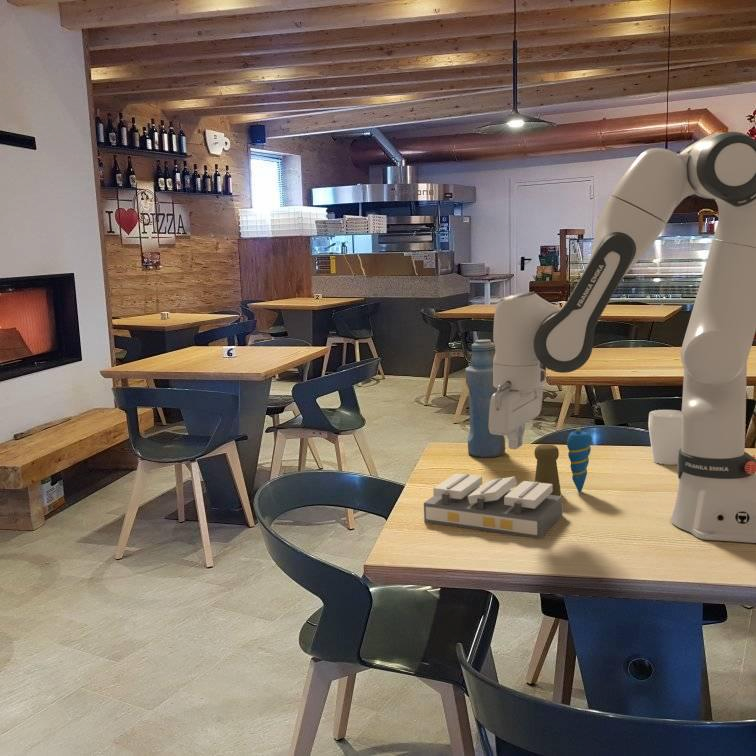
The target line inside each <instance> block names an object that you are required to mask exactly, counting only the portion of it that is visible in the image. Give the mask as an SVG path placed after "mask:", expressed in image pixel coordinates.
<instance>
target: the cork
mask: <svg viewBox="0 0 756 756" xmlns="http://www.w3.org/2000/svg"><path fill="white" fill-rule="evenodd" d="M533 452H534V453H533V455H534V458H535V459H536V467H535V474H534V482H539V483H548V484H552V493H551V494H550V495H556V496H562V491H561V485H560V476H559V471H558V464H557V460H558V458H559V455H560V451H559V449H558V446H556V445H554V444H549V443H545V444H544V443H543V444H538V445H537V446H536V447H535V449H534V451H533Z"/></svg>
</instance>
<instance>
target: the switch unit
mask: <svg viewBox="0 0 756 756" xmlns="http://www.w3.org/2000/svg"><path fill="white" fill-rule="evenodd" d="M479 487H481V485H480V486H478V487H477V488H476V489H474V490H473V491H472V492H474V491H475V490H477V489H478V488H479ZM512 490H513V489H510V490H509V491H508V492H506V493H505V494H504V495H503V496H502V497H500V498H499V499H498V500H493V501H486V502H484V498H479V497H478V498H477V503H473V504H470V503H469V500H468V495H470V494H471V493H472V492H470V493H469V494H468V495H466V496H465V497H463V498H462V499H455V498H449V494H447V493H442V497H440V496H434V495H433V496H431V497H430V498H428V499H427V500H426V501H424V502H423V517H424V518H423V519H424V523H430V524H437V525H442V526H443V525H444V526H448V527H449V526H450V527H457V528H463V529H470V530H477V531H485V532H490V533H498V534H499V533H500V534H503V535H511V536H517V537H526V538H532V539H538V540H541V538H542V537H543V536H544V535H546V533H547V532H548V531H549V530H550V529H551V528H552V527H553V526H554V525H555V523H557V521H559V519H561V518H562V516H563V495H561V496H556V495H549V496H547V497H546V498H545V499H544V500H543V501H542V502H541V503H540V504H539V505H538V506H537V507H536V508H535V509H534V508H526V507H521V503H519V502H515V503H514V506H510V505H504V496H506V495H507V494H508V493H509V492H511V491H512Z"/></svg>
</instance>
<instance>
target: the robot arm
mask: <svg viewBox="0 0 756 756" xmlns="http://www.w3.org/2000/svg"><path fill="white" fill-rule="evenodd" d="M689 196H692V197H697V198H703V199H709V200H714V201H715V202H716V205H717V208H718V217H717V218H718V219H717V221H718V222H717V225H716V227H715V230H714V234H713V239H712V241H711V244H710V247H709V248H710V249H709V250H708V251H709V252H708V256H707V259H706V263H705V266H704V269H703V273H702V277H701V279H700V280H701V281H700V283H699V287H698V290H697V294H696V297H695V301H694V304H693V307H692V310H691V314H690V317H689V322H688V324H687V328H686V332H685V334H684V338H683V341H682V345H681V350H680V359H681V363H682V364H681V365H682V367H683V382H682V383H683V384H682V401H681V402H682V403H681V411H682V423H681V448H680V450H679V454H678V464H677V476H678V479H679V480H678V487H677V493H676V498H675V503H674V508H673V511H672V514H671V516H670V522H671V523H672V524H673V525H674V526H676V527H677V528H678V529H681V530H683V531H686V532H689V533H691V534H692V535H694V536H695V537H696V538H697V539H700V540H707V541H724V542H734V543H736V542H737V543H738V542H739V543H751V544H756V456H755V454H752V455H751V454H749V453H748V452H746V451H745V449H746V448H745V446H746V445H745V444H746V441H745V440H746V420H747V419H746V416H747V415H746V412H747V375H748V373H747V371H748V367H747V366H748V365H747V364H748V360H749V356H750V352H751V349H752V345H753V341H754V339H755V335H756V139H755V138H753V137H752V136H751V135H748V134H746V133H743V132H740V131H729V132H728V131H726V132H716V133H712V134H708V135H706V136H705V137H701V138H698V139H696V140H695V141H693V142H691V143H689V144H687V145H686V146H684V147H683V148H682V149H680V150H678V151H676V152H674V151H672V150H670V149H668V148H662V147H653V148H652V147H651V148H648V149H645V150H644V151H643V152H641V153H640V154H639V155H638V156H637V157H636V159H635V160H634V161H633V162H632V164H630V166H629V167H628V168H627V170H626V171H625V173H624V174H623V175H622V177H621V178H620V180H619V181H618V182H617V184H616V185H615V187H614V188H613V191H612V192H611V194H610V195H609V198H608V200H607V201H606V203H605V205H604V206H603V209H602V211H601V213H600V216H599V219H598V221H597V224H596V226H595V230H594V234H593V244H592V250H591V252H590V253H591V254H590V256H589V259H588V263H587V264H586V267H585V268H584V271H583V272H582V274H581V276H580V278H579V279H578V280H577V283H576V285H575V286H574V289H573V290H572V292H571V293H570V295H569V297H568V299H567V300H566V302H565V304H564V305H563V306H562V307H561V306H558V305H555V304H553V303H551V302H549V301H547V300H546V299H544V298H542V297H541V296H539V294H537V293H536V292H532V291H527V292H525V291H524V292H519V293H513V294H510V295H506V296H504V297H503V298H501V299H500V300H499V301H498V302H497V303H496V305H495V311H494V315H493V332H492V333H493V337H492V338H493V339H492V340H493V343H494V345H495V356H494V359H493V386H494V387H495V388H497V389H498V390H497V392H496V393H494V394H493V395H492V397H491V401H490V409H489V431H490V433H491V434H495V435H503V436H506V438H507V439H508V448H509V450H517V449H519V448H520V447H522V446H523V438H524V433H525V430H526V424H527V423H529V422H530V421H532V420H534V419H535V418H536V417H538V416H539V415H540V414H541V410H542V405H543V391H544V386H543V385H544V384H543V383H544V382H545V380H546V374H547V373H546V370H545V369H543V368H541V365H543V367H544V368H546V369H547V370H550V371H551V372H555V373H561V374H562V373H563V374H565V373H566V374H567V373H571V372H574V371H576V370H578V369H580V368H582V367H583V366H584V365H585V364H586V363H587V362H588V361H589V359H590V357H591V355H592V352H593V348H594V339H595V338H594V337H595V330H596V327H597V324H598V322H599V319H600V317H601V316H602V314H603V312H604V311H605V309H606V307H607V305H608V304H609V302H610V300H611V298H613V295H614V293H615V292H616V290H617V288H618V286H619V285H620V282H622V280H623V279H624V277H625V276H626V275H627V274H628V273H629V271H630V270H631V269H632V268H633V267H634V266H635V265H636V264H637V263H638V261H640V259H641V258H642V257H643V256H644V255H645V254H646V253H647V252H648V250H650V248H651V247H652V246H653V244H654V243H655V242H656V240H657V239H658V238H659V236H660V234H661V233H662V231H664V229H665V227H666V225H667V224H668V222H669V220H670V218H671V217H672V215H673V213H674V211H675V209H676V208H677V207H678V206H679V205H680V203H681V202H683V200H684V199H686V198H687V197H689Z"/></svg>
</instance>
